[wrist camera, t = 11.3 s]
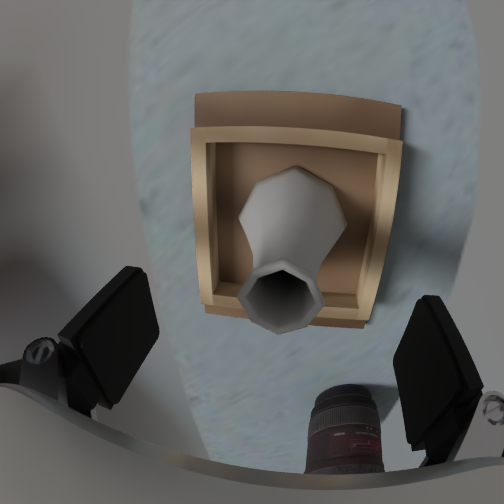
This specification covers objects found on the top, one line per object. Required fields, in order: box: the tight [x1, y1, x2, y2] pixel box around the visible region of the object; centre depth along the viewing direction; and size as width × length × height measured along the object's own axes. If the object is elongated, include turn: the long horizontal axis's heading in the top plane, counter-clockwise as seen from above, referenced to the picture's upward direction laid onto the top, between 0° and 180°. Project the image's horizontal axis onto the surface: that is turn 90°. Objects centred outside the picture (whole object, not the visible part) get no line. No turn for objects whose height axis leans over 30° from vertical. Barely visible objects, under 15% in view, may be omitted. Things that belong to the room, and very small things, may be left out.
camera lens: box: [304, 385, 385, 475], centre depth 21 cm, size 8×8×15 cm
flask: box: [237, 165, 348, 335], centre depth 15 cm, size 7×7×10 cm
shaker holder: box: [190, 91, 403, 329], centre depth 19 cm, size 18×14×3 cm
